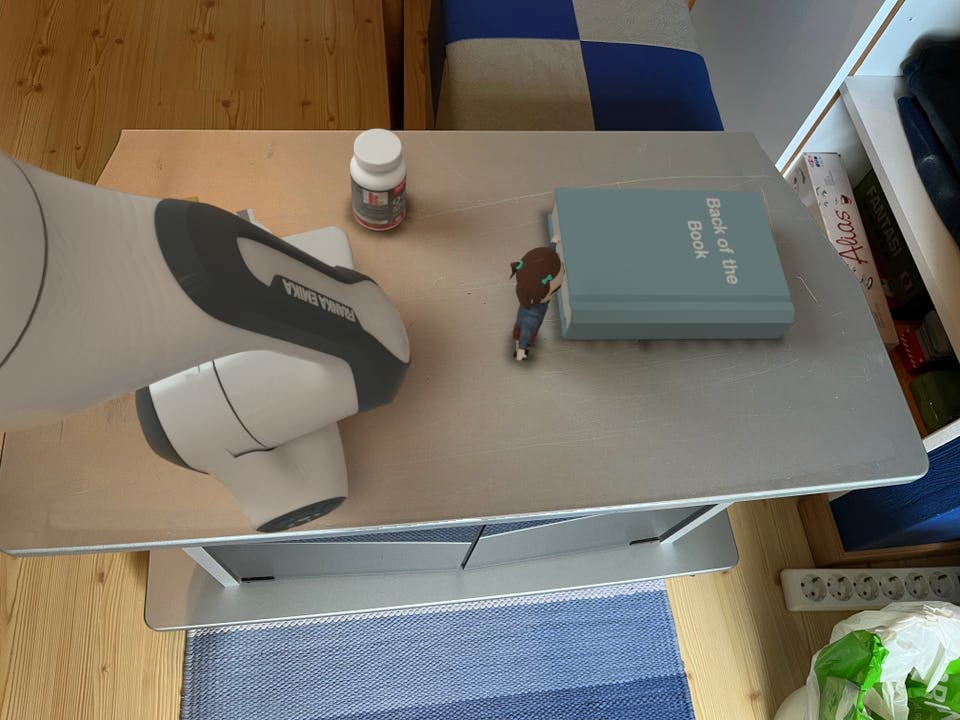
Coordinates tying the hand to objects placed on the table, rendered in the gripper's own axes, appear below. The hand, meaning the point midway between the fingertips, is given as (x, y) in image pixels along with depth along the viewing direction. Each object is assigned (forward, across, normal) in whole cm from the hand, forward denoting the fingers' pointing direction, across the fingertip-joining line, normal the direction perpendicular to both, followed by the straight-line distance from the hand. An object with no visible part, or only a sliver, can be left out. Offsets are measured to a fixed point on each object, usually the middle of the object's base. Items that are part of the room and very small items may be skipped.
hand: (224, 218), depth 68 cm
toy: (-16, -24, +9) cm, 30 cm away
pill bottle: (+4, -16, +9) cm, 18 cm away
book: (-13, -42, +9) cm, 45 cm away
